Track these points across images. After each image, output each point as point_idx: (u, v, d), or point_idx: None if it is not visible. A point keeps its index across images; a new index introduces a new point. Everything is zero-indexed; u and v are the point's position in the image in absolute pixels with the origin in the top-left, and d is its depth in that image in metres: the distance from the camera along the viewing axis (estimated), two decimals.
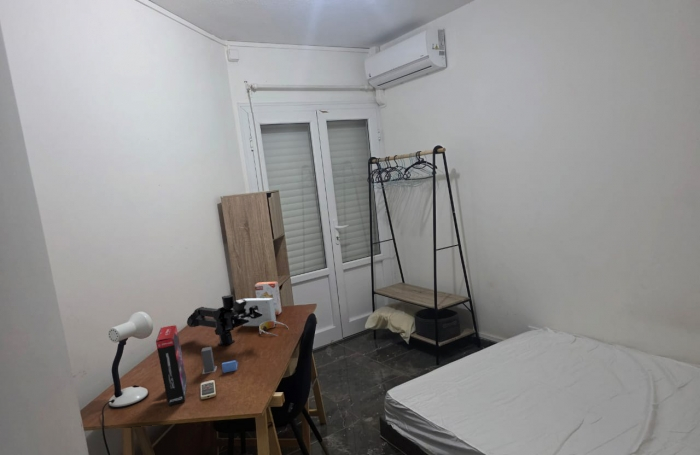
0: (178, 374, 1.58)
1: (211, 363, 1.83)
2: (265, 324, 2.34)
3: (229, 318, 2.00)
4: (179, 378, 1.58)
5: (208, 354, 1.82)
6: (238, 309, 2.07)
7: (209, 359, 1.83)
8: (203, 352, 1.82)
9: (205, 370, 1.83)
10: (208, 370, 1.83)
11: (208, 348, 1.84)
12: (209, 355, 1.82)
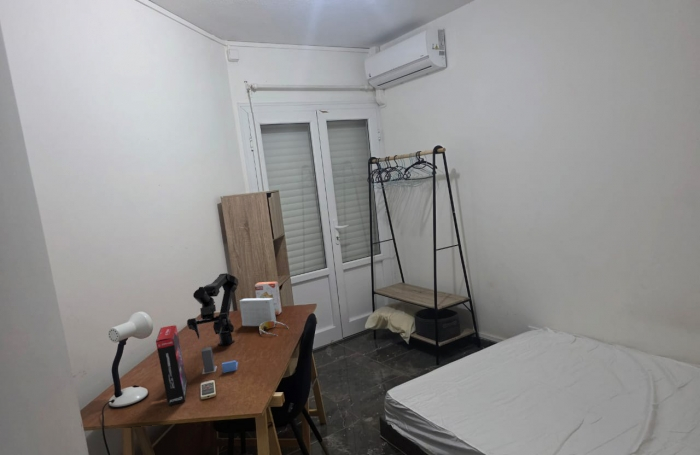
0: (178, 374, 1.58)
1: (211, 363, 1.83)
2: (265, 324, 2.34)
3: (187, 322, 1.92)
4: (179, 378, 1.58)
5: (208, 354, 1.82)
6: (203, 314, 1.94)
7: (209, 359, 1.83)
8: (203, 352, 1.82)
9: (205, 370, 1.83)
10: (208, 370, 1.83)
11: (208, 348, 1.84)
12: (209, 355, 1.82)
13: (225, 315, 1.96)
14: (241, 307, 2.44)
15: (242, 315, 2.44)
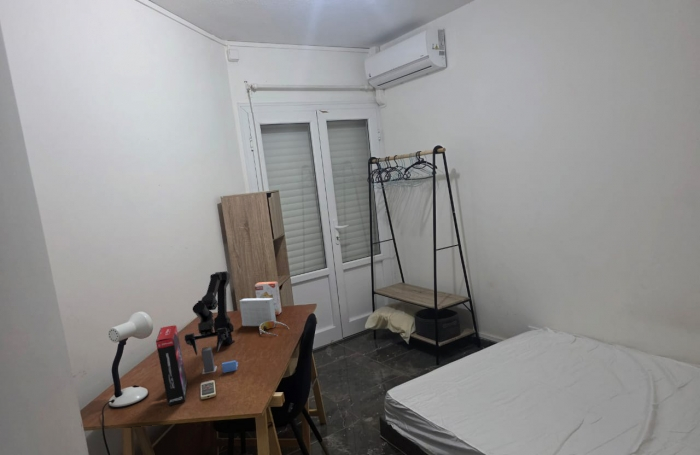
0: (178, 374, 1.58)
1: (211, 363, 1.83)
2: (265, 324, 2.34)
3: None
4: (179, 378, 1.58)
5: (208, 354, 1.82)
6: (201, 330, 1.87)
7: (209, 359, 1.83)
8: (203, 352, 1.82)
9: (205, 370, 1.83)
10: (208, 370, 1.83)
11: (208, 348, 1.84)
12: (209, 355, 1.82)
13: (224, 330, 1.89)
14: (241, 307, 2.44)
15: (242, 315, 2.44)
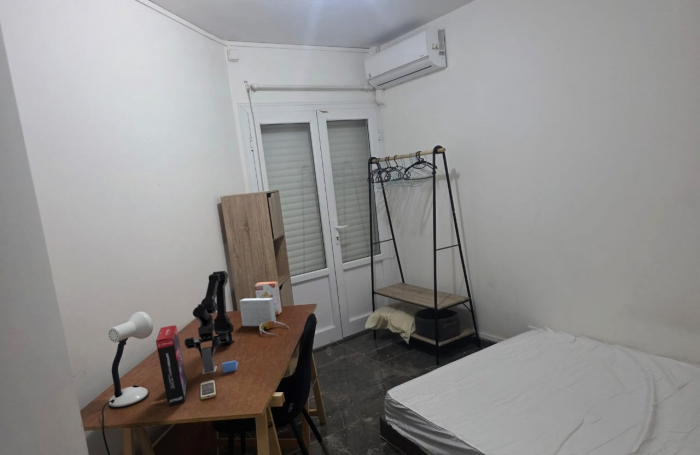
0: (178, 374, 1.58)
1: (211, 363, 1.83)
2: (265, 324, 2.34)
3: (184, 342, 1.84)
4: (179, 378, 1.58)
5: (208, 354, 1.82)
6: (201, 334, 1.85)
7: (209, 359, 1.83)
8: (203, 352, 1.82)
9: (205, 370, 1.83)
10: (208, 370, 1.83)
11: (208, 348, 1.84)
12: (209, 355, 1.82)
13: (224, 334, 1.87)
14: (241, 307, 2.44)
15: (242, 315, 2.44)
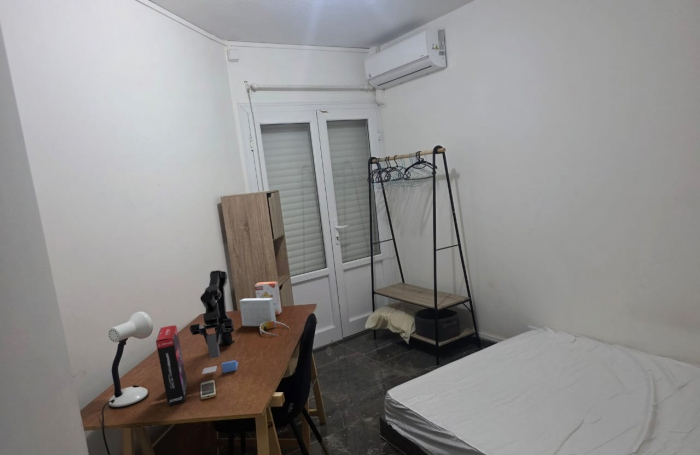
0: (178, 374, 1.58)
1: (216, 349, 1.83)
2: (265, 324, 2.34)
3: (190, 328, 1.84)
4: (179, 378, 1.58)
5: (213, 340, 1.82)
6: (206, 320, 1.85)
7: (214, 345, 1.83)
8: (208, 338, 1.82)
9: (210, 356, 1.83)
10: (213, 356, 1.83)
11: (213, 334, 1.84)
12: (214, 341, 1.82)
13: (229, 321, 1.87)
14: (241, 307, 2.44)
15: (242, 315, 2.44)
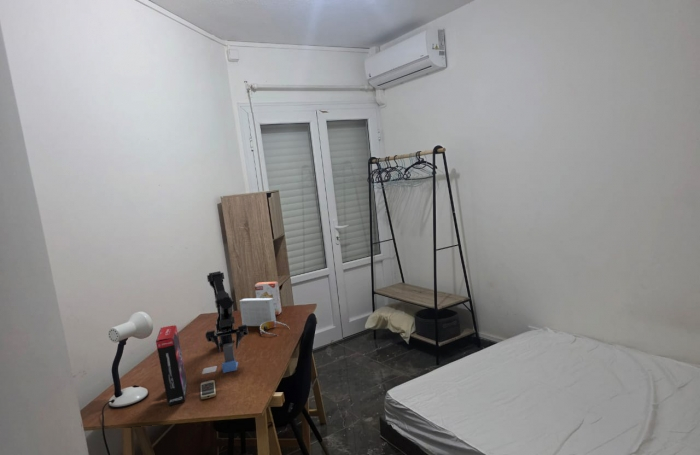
0: (178, 374, 1.58)
1: (232, 359, 1.85)
2: (266, 324, 2.33)
3: None
4: (179, 378, 1.58)
5: (230, 350, 1.84)
6: (222, 327, 1.87)
7: (230, 355, 1.84)
8: (225, 348, 1.84)
9: None
10: None
11: (229, 344, 1.86)
12: (230, 351, 1.84)
13: (244, 327, 1.89)
14: (241, 307, 2.44)
15: (242, 315, 2.44)
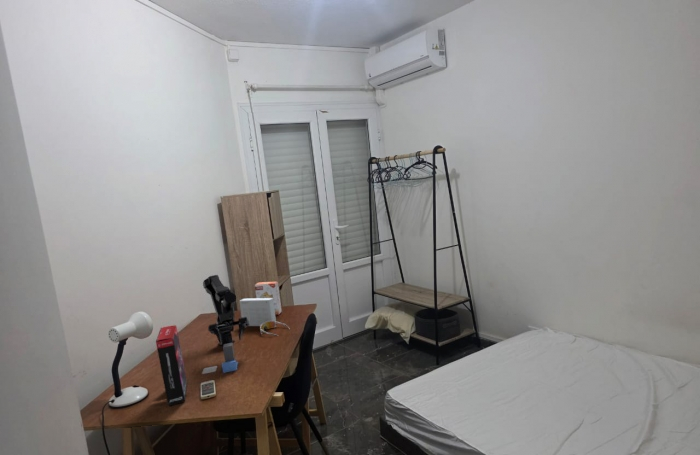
0: (178, 374, 1.58)
1: (232, 359, 1.85)
2: (266, 324, 2.33)
3: None
4: (179, 378, 1.58)
5: (230, 350, 1.84)
6: (223, 320, 1.96)
7: (230, 355, 1.84)
8: (225, 348, 1.84)
9: None
10: None
11: (229, 344, 1.86)
12: (230, 351, 1.84)
13: (244, 320, 1.97)
14: (241, 307, 2.44)
15: (242, 315, 2.44)
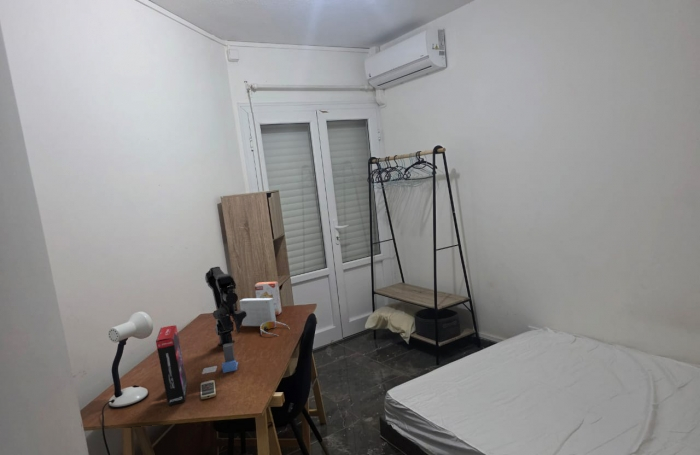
0: (178, 374, 1.58)
1: (232, 359, 1.85)
2: (266, 324, 2.33)
3: None
4: (179, 378, 1.58)
5: (230, 350, 1.84)
6: None
7: (230, 355, 1.84)
8: (225, 348, 1.84)
9: None
10: None
11: (229, 344, 1.86)
12: (230, 351, 1.84)
13: (236, 318, 1.94)
14: (241, 307, 2.44)
15: None
